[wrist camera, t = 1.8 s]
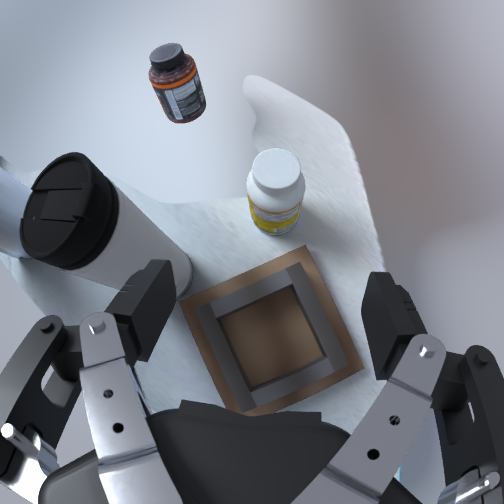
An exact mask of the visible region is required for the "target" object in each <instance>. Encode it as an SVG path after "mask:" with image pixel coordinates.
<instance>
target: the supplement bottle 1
mask: <svg viewBox="0 0 504 504" xmlns="http://www.w3.org/2000/svg"><path fill="white" fill-rule="evenodd" d="M149 58H150V61H151V65H152V66H151V68H150V70H149V79H150V81H151V83H152V86H153V88H154V90H155V92H156V94H157V96H158V99H159V100H160V103H161V105H162V107H163V110H164V112H165V114H166V115H167V117H168V118H169V120H171V121H172V122H174V123H187V122H191V121H193V120H195V119H196V118H198V117H199V116H201V114H202V113H203V112H204V110H205V107H206V101H205V96H204V93H203V89H202V86H201V82H200V78H199V75H198V71H197V68H196V65H195V62H194V59H193V58H192V57H191V56H190V55H188V54H185V53H184V51H183V49H182V47H181V45H180V44H177V43H168V44H165V45H162V46H160V47H158V48H156V49H155V50H154V51H153V52H152V53H151V54H150V57H149Z"/></svg>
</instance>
